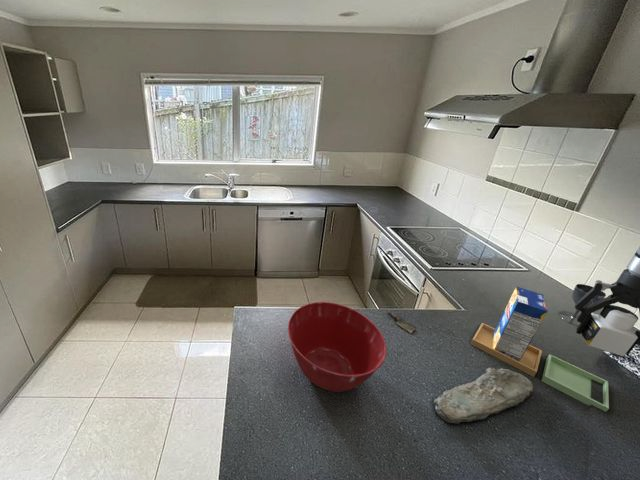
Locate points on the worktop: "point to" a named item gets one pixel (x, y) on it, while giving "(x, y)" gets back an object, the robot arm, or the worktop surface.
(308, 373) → the mixing bowl
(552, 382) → the green tray
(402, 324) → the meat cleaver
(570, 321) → the wine glass
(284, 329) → the worktop surface
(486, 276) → the worktop surface
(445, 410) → the long grey stone
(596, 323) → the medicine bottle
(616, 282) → the robot arm
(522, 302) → the beverage box
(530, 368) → the oak tray
